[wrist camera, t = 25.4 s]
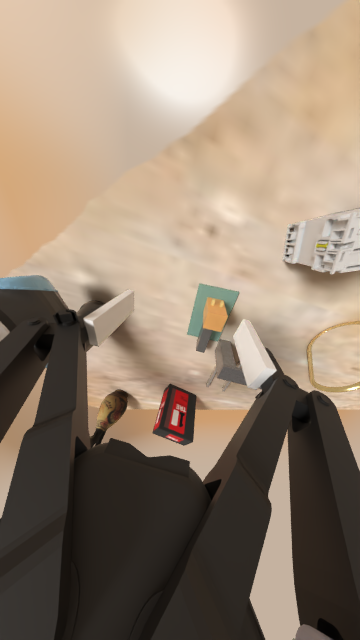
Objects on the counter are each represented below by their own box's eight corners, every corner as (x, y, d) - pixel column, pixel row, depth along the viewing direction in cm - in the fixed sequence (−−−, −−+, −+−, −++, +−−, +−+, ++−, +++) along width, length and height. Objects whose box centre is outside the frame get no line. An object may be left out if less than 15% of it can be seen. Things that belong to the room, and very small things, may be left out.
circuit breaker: (356, 246, 28) (474, 253, 16) (281, 260, 32) (329, 274, 20) (374, 203, 25) (545, 166, 12) (287, 224, 28) (351, 213, 16)
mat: (187, 333, 50) (187, 334, 49) (199, 283, 39) (199, 284, 38) (217, 340, 49) (217, 341, 49) (239, 291, 38) (239, 292, 38)
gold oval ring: (309, 390, 55) (312, 394, 54) (302, 330, 41) (305, 333, 40) (372, 385, 48) (376, 389, 47) (388, 309, 34) (396, 312, 33)
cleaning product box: (164, 390, 76) (152, 433, 59) (169, 383, 71) (158, 428, 54) (189, 401, 77) (184, 445, 61) (196, 395, 72) (193, 441, 56)
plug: (194, 340, 51) (192, 361, 42) (208, 292, 39) (209, 306, 31) (206, 343, 50) (206, 364, 42) (225, 295, 39) (230, 311, 31)
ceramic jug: (107, 385, 85) (65, 446, 60) (128, 388, 82) (94, 453, 57) (115, 398, 94) (82, 456, 69) (134, 401, 91) (107, 463, 66)
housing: (200, 382, 65) (199, 409, 55) (219, 339, 48) (223, 366, 38) (229, 390, 64) (234, 419, 54) (259, 348, 48) (274, 379, 37)
